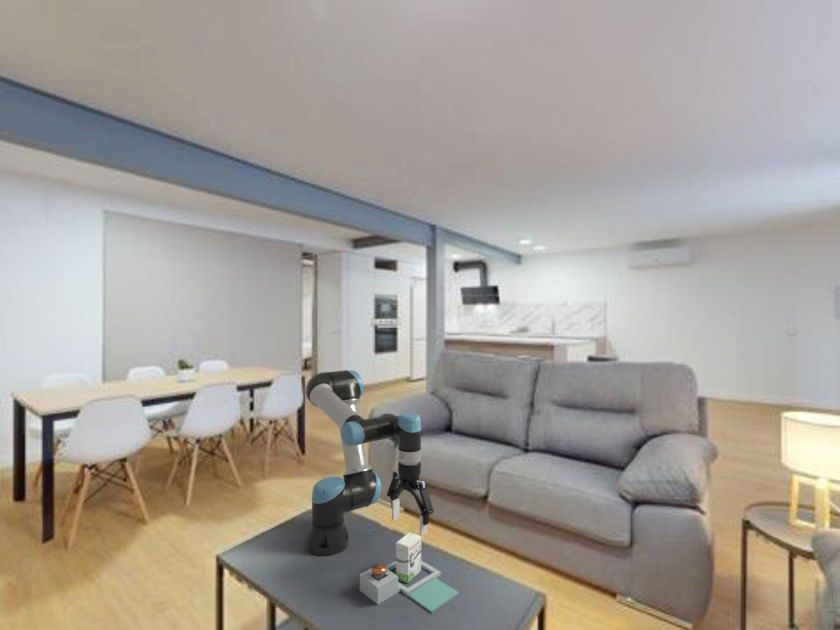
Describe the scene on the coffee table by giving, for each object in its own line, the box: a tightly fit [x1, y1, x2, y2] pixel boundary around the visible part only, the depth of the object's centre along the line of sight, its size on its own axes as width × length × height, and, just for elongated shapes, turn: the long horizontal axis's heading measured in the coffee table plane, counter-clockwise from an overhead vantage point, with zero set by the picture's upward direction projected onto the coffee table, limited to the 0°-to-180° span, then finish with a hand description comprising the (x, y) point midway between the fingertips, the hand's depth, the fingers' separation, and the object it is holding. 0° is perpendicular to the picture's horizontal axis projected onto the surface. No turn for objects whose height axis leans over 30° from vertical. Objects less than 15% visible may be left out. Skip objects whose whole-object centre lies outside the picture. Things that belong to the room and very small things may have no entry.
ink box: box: [395, 532, 422, 584], centre depth 141 cm, size 9×5×12 cm, turn 149°
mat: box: [407, 577, 460, 614], centre depth 131 cm, size 10×12×1 cm
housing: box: [359, 559, 442, 605], centre depth 138 cm, size 15×24×5 cm, turn 134°
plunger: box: [371, 562, 387, 581], centre depth 133 cm, size 4×4×6 cm
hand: (409, 526), depth 141 cm, fingers open, 13 cm apart
